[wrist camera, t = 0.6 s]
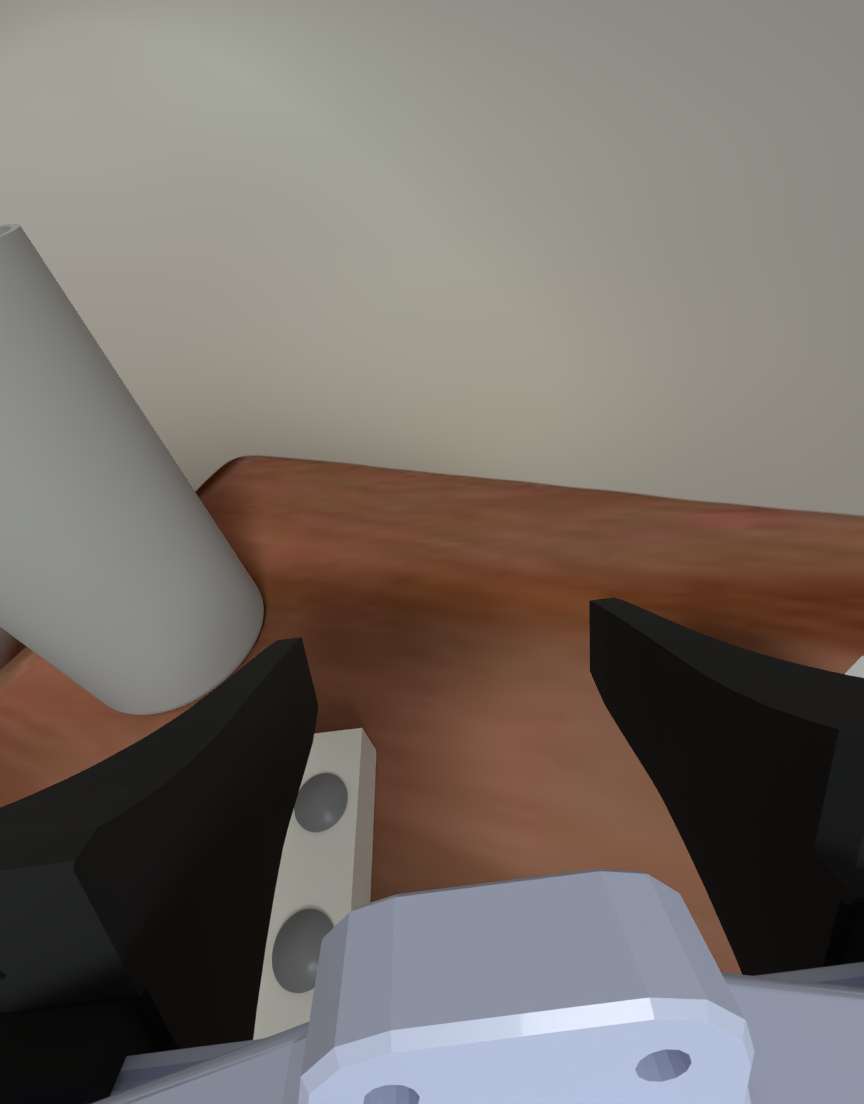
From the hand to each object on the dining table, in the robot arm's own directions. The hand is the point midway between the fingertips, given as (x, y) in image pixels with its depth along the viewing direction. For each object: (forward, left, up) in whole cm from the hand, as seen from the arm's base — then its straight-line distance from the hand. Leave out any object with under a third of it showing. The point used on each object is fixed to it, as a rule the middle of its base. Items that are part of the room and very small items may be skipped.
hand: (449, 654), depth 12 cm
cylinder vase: (+15, +21, -17) cm, 31 cm away
